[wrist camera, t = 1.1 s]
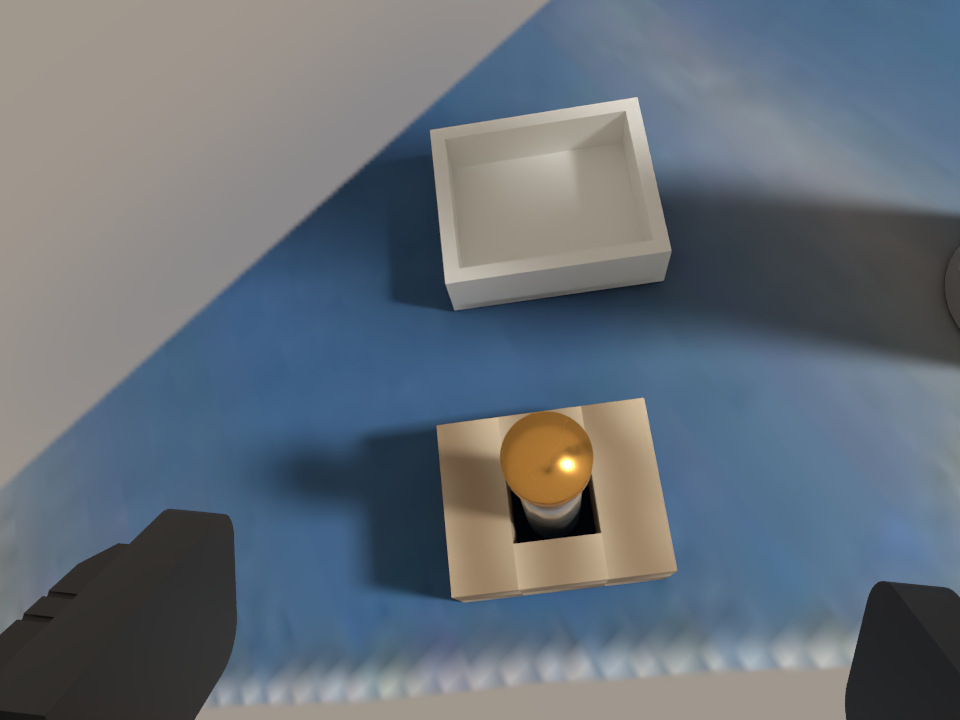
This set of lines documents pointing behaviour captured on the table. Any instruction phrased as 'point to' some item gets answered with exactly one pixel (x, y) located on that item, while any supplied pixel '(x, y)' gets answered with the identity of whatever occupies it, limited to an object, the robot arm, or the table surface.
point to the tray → (548, 205)
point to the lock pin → (548, 469)
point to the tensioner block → (563, 561)
